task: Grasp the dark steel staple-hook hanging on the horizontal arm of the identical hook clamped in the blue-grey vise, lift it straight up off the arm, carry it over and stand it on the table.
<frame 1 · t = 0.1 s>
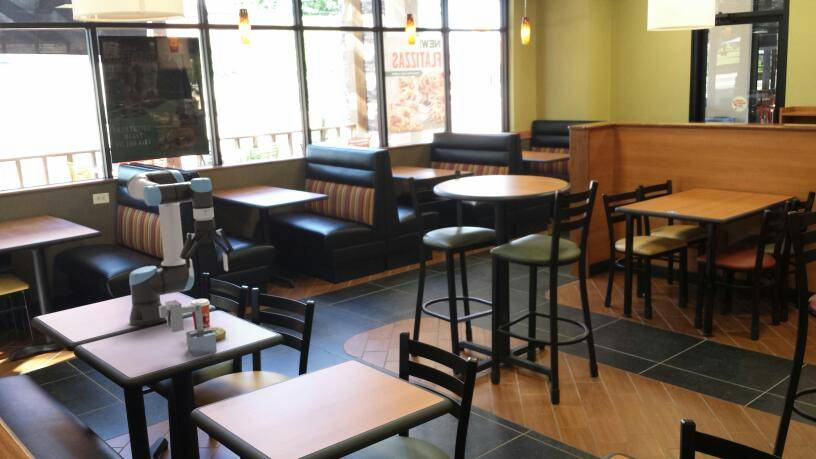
hand: (209, 273, 283), 28 cm above the table, fingers open, 13 cm apart
decorated donut: (212, 339, 294), on the table
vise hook: (202, 350, 280), on the table
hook: (175, 328, 273), point 10 cm above the table, touching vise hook
paper cup: (203, 334, 300), on the table
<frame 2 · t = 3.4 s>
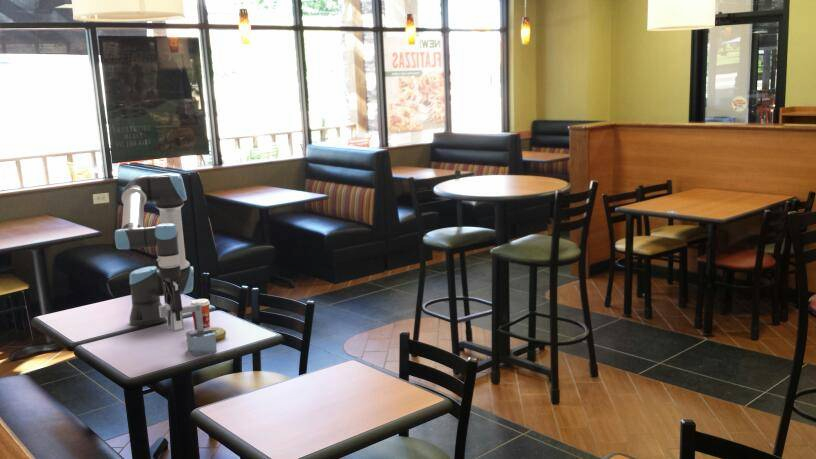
hand: (175, 326, 273), 12 cm above the table, fingers closed on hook, 7 cm apart
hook: (175, 328, 273), point 10 cm above the table, touching gripper, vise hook
everything else where it was.
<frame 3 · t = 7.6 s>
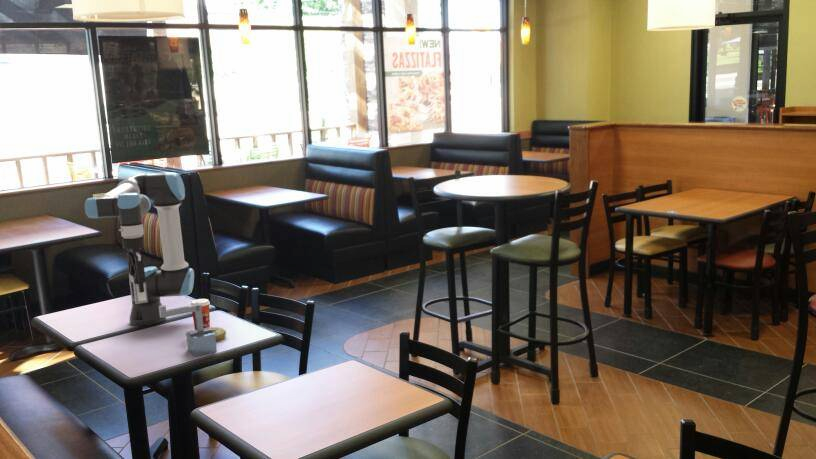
hand: (139, 298, 267), 24 cm above the table, fingers closed on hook, 7 cm apart
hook: (139, 301, 267), point 23 cm above the table, touching gripper
everything else where it was.
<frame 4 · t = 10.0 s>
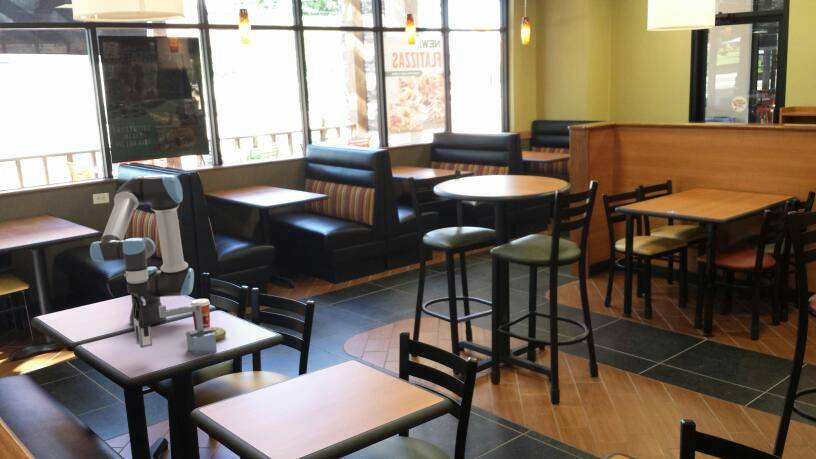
hand: (144, 341, 270), 7 cm above the table, fingers closed on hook, 7 cm apart
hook: (144, 344, 270), point 6 cm above the table, touching gripper
everything else where it was.
when the fingers open (2 cm above the table, at t = 12.1 s): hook stays where it is, on the table.
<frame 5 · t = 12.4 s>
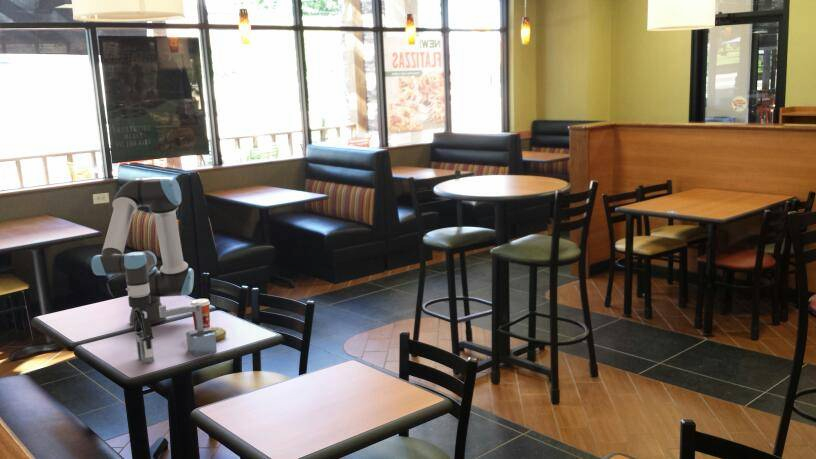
hand: (145, 352, 271), 3 cm above the table, fingers open, 11 cm apart
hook: (146, 360, 272), on the table
everything else where it was.
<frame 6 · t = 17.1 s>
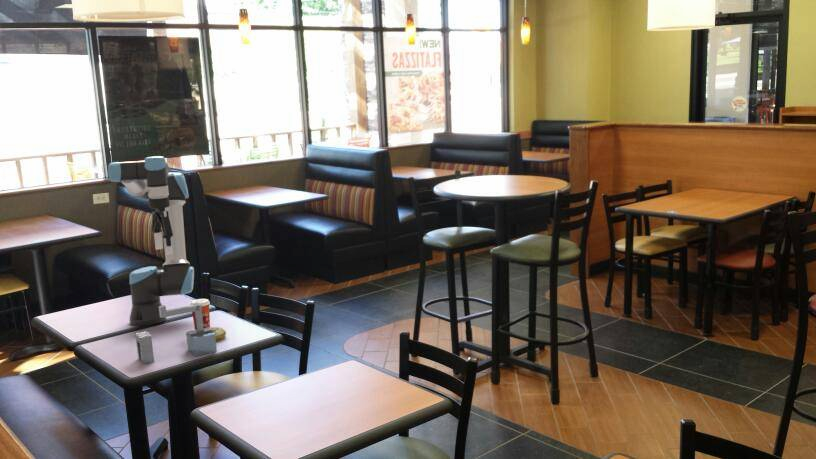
hand: (164, 251, 284), 37 cm above the table, fingers open, 13 cm apart
nothing on the table moved.
at the end: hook inside the target area (0.0 cm from its centre), on the table; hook touching table; the gripper is holding nothing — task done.
